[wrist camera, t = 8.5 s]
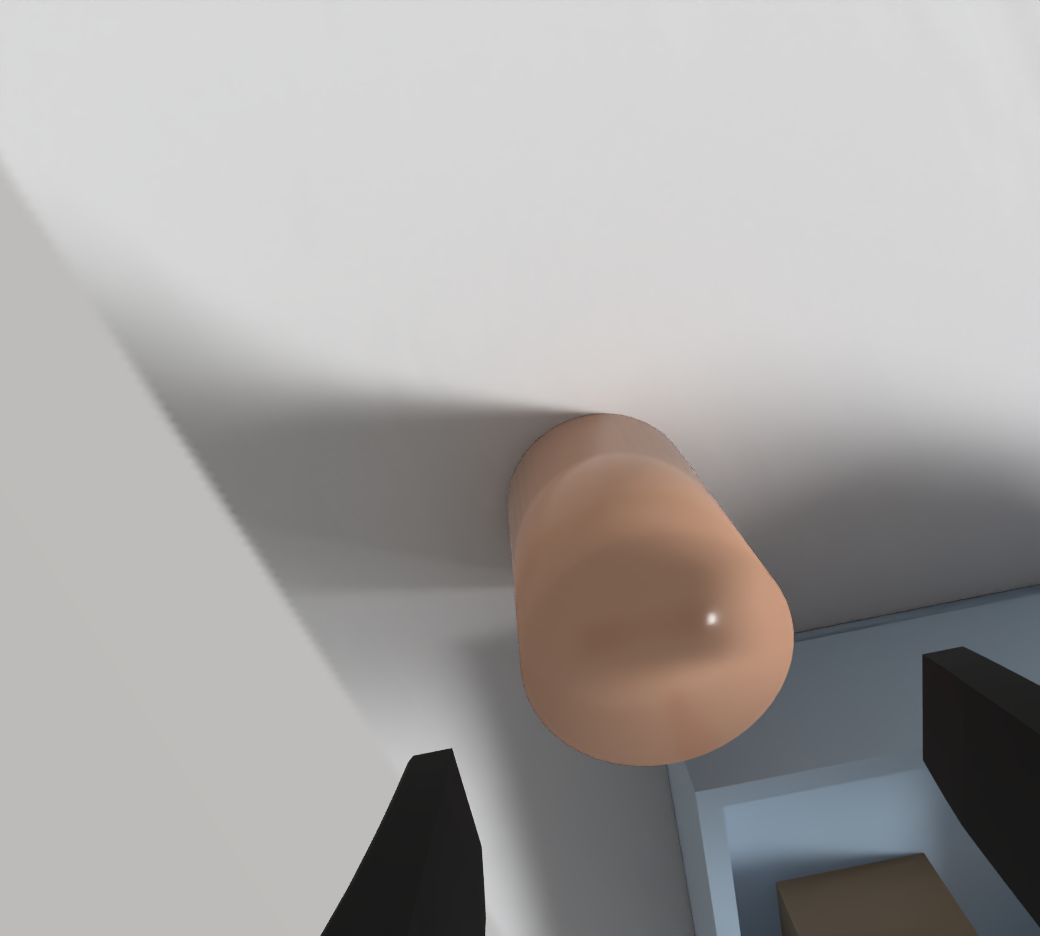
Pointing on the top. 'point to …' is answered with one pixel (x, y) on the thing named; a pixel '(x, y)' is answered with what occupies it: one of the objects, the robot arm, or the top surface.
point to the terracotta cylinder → (637, 598)
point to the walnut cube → (872, 902)
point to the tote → (846, 771)
